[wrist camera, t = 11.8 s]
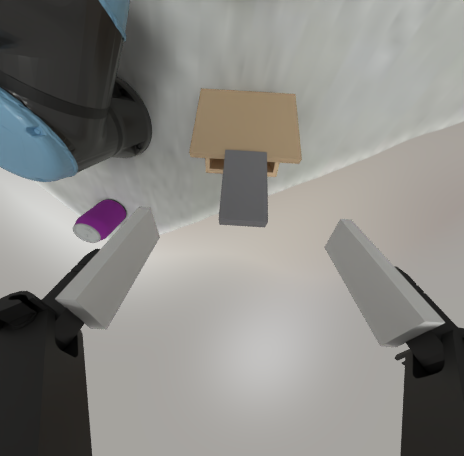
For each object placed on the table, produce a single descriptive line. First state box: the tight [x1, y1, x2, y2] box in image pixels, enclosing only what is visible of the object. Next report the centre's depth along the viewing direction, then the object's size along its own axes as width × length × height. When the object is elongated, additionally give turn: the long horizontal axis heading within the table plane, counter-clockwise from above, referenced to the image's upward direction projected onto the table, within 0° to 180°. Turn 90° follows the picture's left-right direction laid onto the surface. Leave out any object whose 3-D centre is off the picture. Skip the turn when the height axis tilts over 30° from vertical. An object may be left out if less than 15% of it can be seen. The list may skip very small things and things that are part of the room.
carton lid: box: [189, 88, 302, 227], centre depth 21 cm, size 14×21×2 cm
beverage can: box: [73, 200, 126, 243], centre depth 47 cm, size 8×8×12 cm
